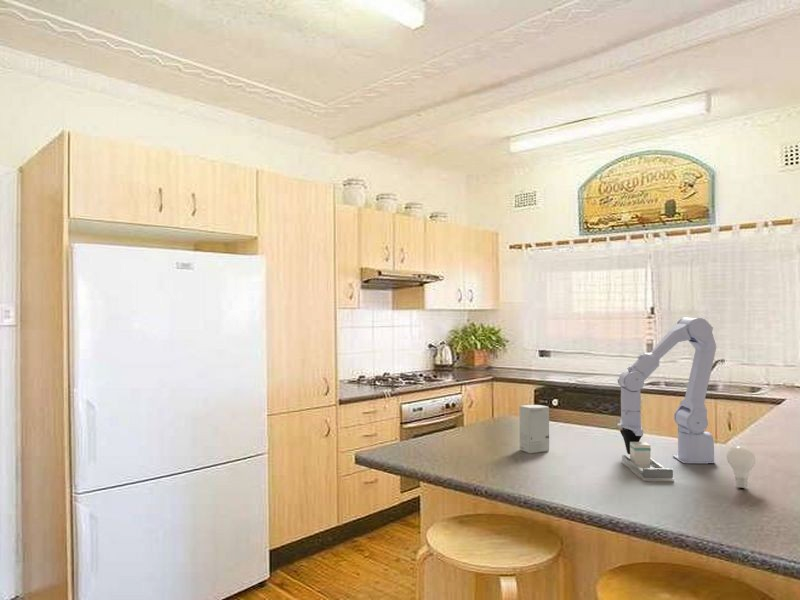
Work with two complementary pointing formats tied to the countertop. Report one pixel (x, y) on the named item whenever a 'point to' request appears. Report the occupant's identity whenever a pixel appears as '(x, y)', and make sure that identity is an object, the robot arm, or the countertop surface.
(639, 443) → the block
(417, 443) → the countertop surface
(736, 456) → the lightbulb
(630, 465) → the rail plate
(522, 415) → the skincare box
